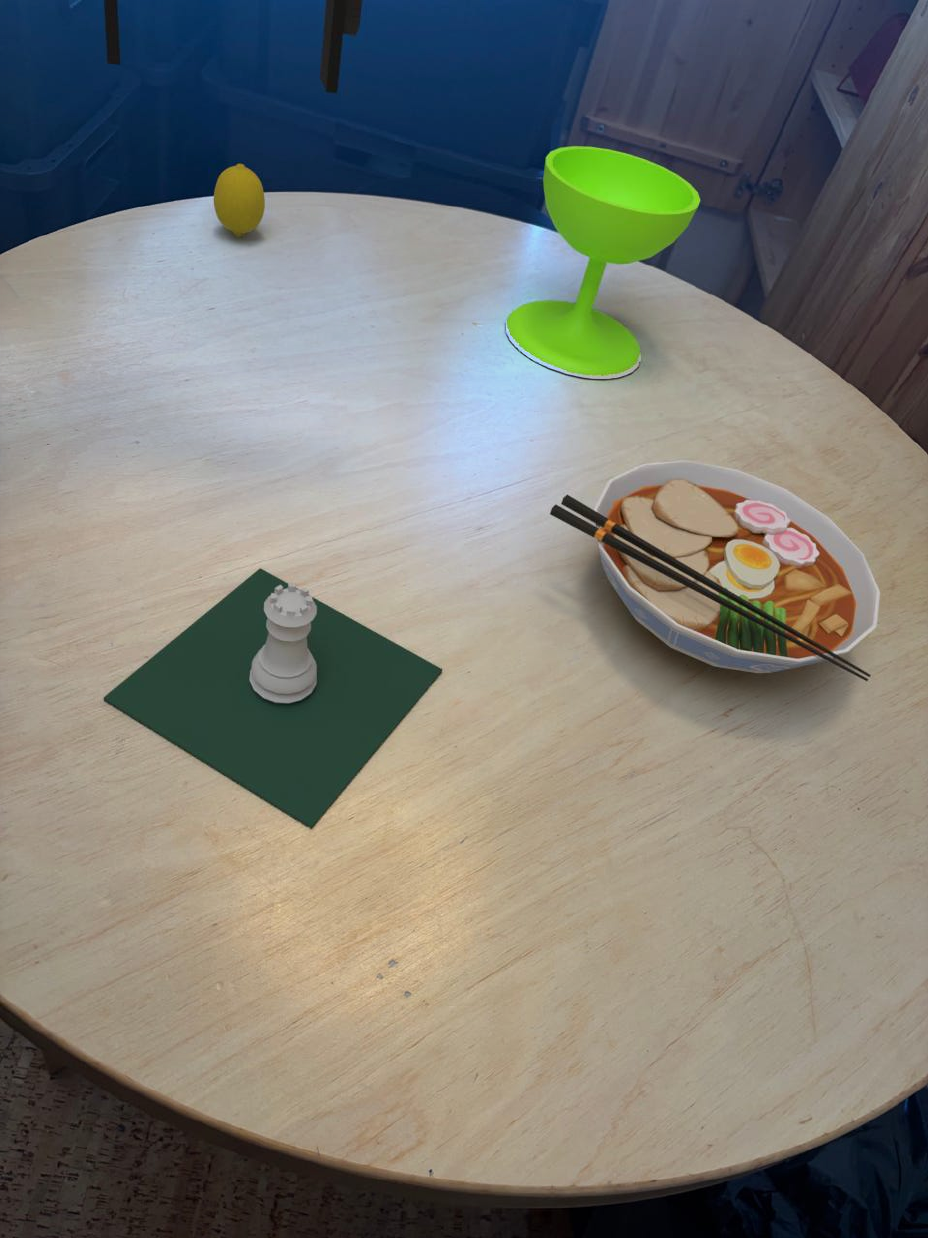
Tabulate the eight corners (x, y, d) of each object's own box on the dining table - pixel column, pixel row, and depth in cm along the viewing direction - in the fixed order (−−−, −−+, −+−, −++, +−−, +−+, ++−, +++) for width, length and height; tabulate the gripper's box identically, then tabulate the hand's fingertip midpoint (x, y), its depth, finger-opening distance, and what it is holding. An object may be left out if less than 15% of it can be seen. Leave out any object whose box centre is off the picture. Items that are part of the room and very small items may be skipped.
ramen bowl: (880, 624, 82) (931, 553, 76) (795, 789, 67) (851, 716, 61) (630, 487, 89) (660, 413, 83) (502, 608, 74) (528, 527, 68)
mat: (103, 700, 60) (103, 697, 60) (259, 570, 71) (260, 567, 71) (311, 829, 57) (311, 826, 56) (441, 672, 68) (442, 669, 68)
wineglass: (640, 394, 101) (702, 229, 89) (495, 356, 101) (537, 185, 89) (642, 327, 113) (698, 172, 101) (513, 292, 113) (552, 133, 100)
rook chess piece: (271, 717, 62) (279, 633, 56) (236, 672, 64) (240, 586, 58) (329, 691, 64) (342, 608, 58) (293, 648, 66) (302, 564, 61)
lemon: (246, 222, 112) (249, 152, 106) (271, 243, 109) (276, 172, 104) (204, 227, 109) (204, 155, 103) (228, 249, 106) (230, 176, 100)
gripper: (-54, -480, 41) (11, 64, 55) (491, -323, 49) (421, 116, 63) (-39, -475, 46) (17, 24, 60) (454, -333, 54) (398, 77, 68)
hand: (224, 72), depth 62 cm, fingers open, 13 cm apart
